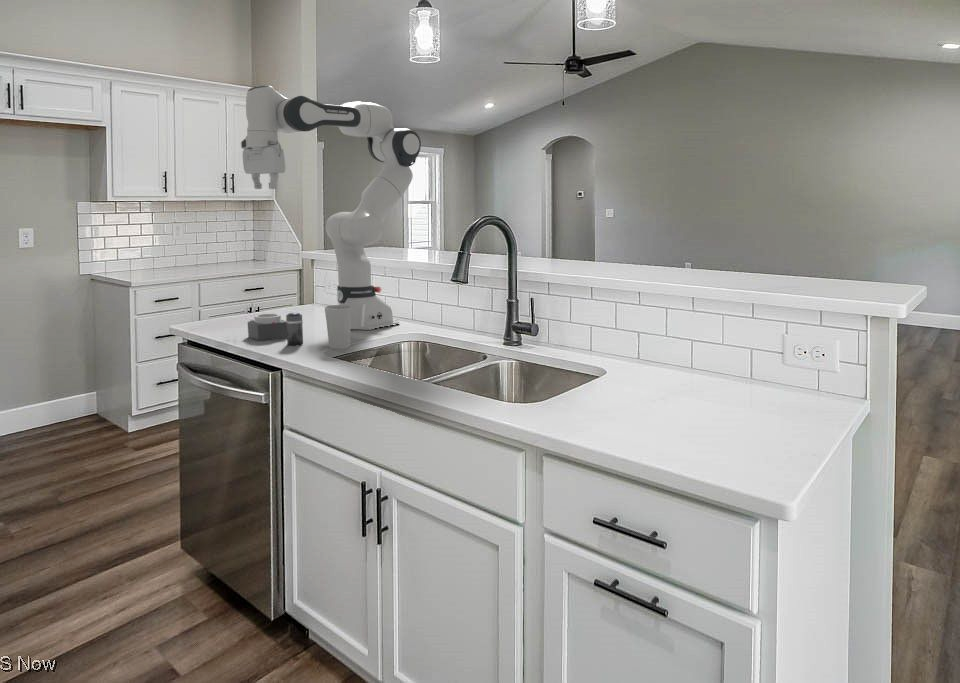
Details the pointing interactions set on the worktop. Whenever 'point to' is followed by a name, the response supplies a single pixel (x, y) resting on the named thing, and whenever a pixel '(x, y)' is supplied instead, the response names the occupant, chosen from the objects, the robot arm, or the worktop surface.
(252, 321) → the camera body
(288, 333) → the lens
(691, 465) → the worktop surface
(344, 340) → the cup
